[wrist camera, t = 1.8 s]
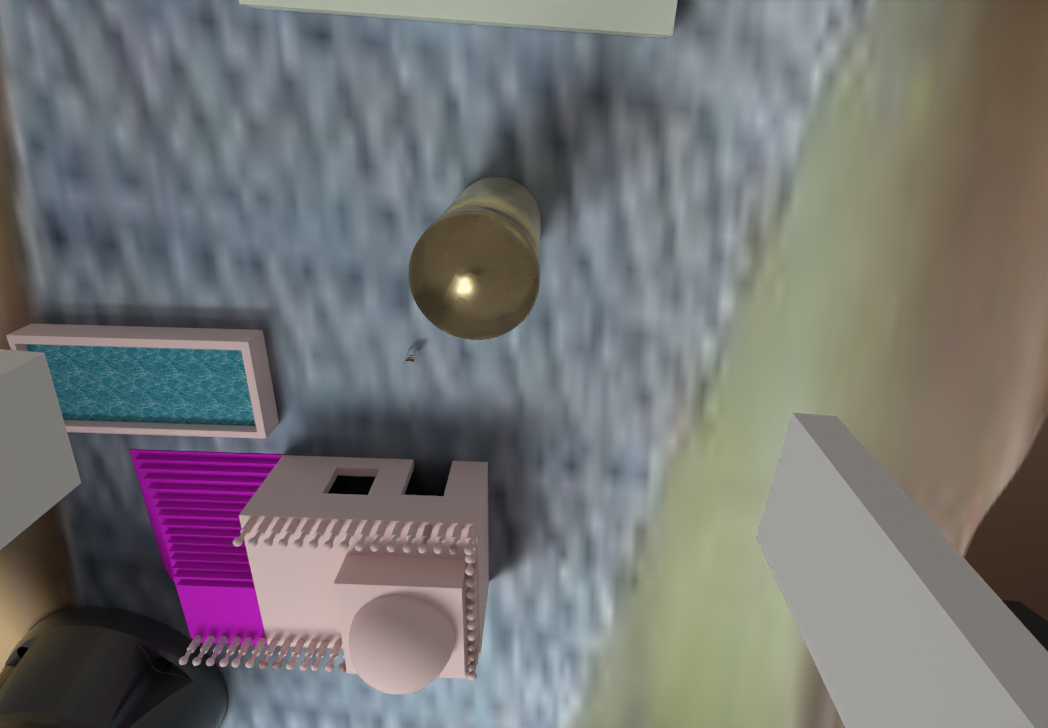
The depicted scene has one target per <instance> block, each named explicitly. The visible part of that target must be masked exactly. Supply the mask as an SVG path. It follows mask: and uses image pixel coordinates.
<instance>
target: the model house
mask: <svg viewBox="0 0 1048 728" xmlns="http://www.w3.org/2000/svg"><path fill="white" fill-rule="evenodd" d="M6 337H7V340H8V343H9V345H10V348H11V350H16V351H29V352H41V353H45V356H46V360H47V363H48V367H49V370H50V374H51V377H52V381H53V384H54V388H55V391H56V395H57V398H58V402H59V406H60V409H61V413H62V416H63V420H64V423H65V427H66V430H67V432H77V433H108V434H138V435H169V436H200V437H230V438H261V439H266V438H267V437H268V436H269V435H270V433H271V432H272V431H273V430H274V429H275V427H276V426H277V425H278V424H279V419H278V413H277V408H276V402H275V396H274V390H273V385H272V379H271V373H270V367H269V362H268V356H267V350H266V345H265V339H264V333H263V330H248V329H212V328H176V327H141V326H105V325H69V324H33V323H32V324H30V325H28V326H25V327H23V328H21V329H19V330H16V331H14V332H12V333H10V334H7V335H6ZM409 351H410V349H409V350H408V353H407V356H406V359H405V361H404V364H405V362H406V361H408V362H413V365H414V363H415V360H416V357H417V354H418V351H419V350H417V353H410V354H413V355H408V354H409ZM414 354H416V355H414ZM129 451H130V454H131V457H132V461H133V464H134V467H135V471H136V474H137V477H138V481H139V484H140V487H141V491H142V494H143V497H144V501H145V504H146V508H147V511H148V514H149V518H150V521H151V524H152V528H153V531H154V534H155V538H156V541H157V544H158V548H159V551H160V554H161V558H162V561H163V564H164V568H165V570H167V573H168V574H169V576H170V578H172V580H173V583H175V585H176V588H177V592H178V595H179V599H180V602H181V605H182V609H183V612H184V616H185V619H186V622H187V626H188V629H189V633H190V636H191V638H192V642H191V643H190V645H189V646H188V648H187V653H186V654H185V656H183V657H181V658H180V659H179V664H180V665H185V664H187V662H188V657H189V656H190V654H191V653H193V652H194V651H195V650H196V648H197V646H198V645H199V643H204V644H203V646H202V647H201V649H200V654H199V655H198V657H195V658H194V659H193V661H192V664H193V665H194V666H198V665H199V664H200V663H201V661H202V659H201V658H202V657H203V655H204V654H206V653H207V652H208V650H209V649H210V647H211V645H212V644H213V643H217V645H216V646H215V648H214V650H213V652H214V653H213V655H212V656H211V657H210V658H208V659H207V660H206V665H207V666H212V665H214V663H215V658H216V656H217V654H220V653H221V651H222V649H223V648H224V646H225V644H230V645H229V647H228V649H227V651H226V652H227V654H226V656H225V658H222V659H221V660H220V662H219V665H220V666H221V667H225V666H227V664H228V659H229V657H230V655H232V654H234V652H235V650H236V648H237V647H238V645H239V644H242V645H241V647H240V649H239V651H238V653H239V654H238V656H237V658H236V659H234V660H233V661H232V663H231V665H232V667H234V668H235V667H238V666H239V665H240V659H241V657H242V656H243V655H245V654H246V652H247V650H248V648H249V646H250V645H255V647H254V649H253V651H252V654H253V655H252V657H251V658H250V659H249V660H247V661H246V664H245V665H246V667H247V668H251V667H253V666H254V660H255V658H256V656H258V655H259V654H260V652H261V650H262V648H263V646H264V645H267V646H268V648H267V650H266V652H265V654H266V656H265V658H264V660H261V661H260V662H259V667H260V668H261V669H264V668H266V667H267V665H268V662H267V661H268V659H269V657H270V656H272V655H273V653H274V651H275V649H276V647H277V646H282V647H281V649H280V651H279V653H278V655H279V657H278V659H277V660H276V661H274V662H273V664H272V666H273V668H274V669H279V668H280V666H281V660H282V658H283V657H285V656H286V654H287V651H288V649H289V647H290V646H291V647H294V650H293V652H292V658H291V660H290V661H288V662H287V664H286V668H287V669H288V670H291V669H293V668H294V666H295V663H294V662H295V659H296V657H299V655H300V652H301V650H302V648H303V647H308V648H307V651H306V653H305V656H306V657H305V660H304V661H303V662H301V664H300V669H301V670H306V669H307V668H308V661H309V658H311V657H312V656H313V653H314V651H315V649H316V648H319V649H318V651H317V654H316V657H317V658H316V661H315V662H313V663H312V664H311V669H312V670H313V671H316V670H318V669H319V662H320V659H321V658H323V656H324V654H325V651H326V649H327V648H333V649H332V651H331V654H330V658H331V659H330V661H329V663H327V664H326V665H325V670H326V671H328V672H329V671H332V669H333V667H334V665H333V662H334V659H336V658H337V657H338V654H339V651H340V649H343V650H344V655H343V658H344V660H343V663H341V664H340V665H339V671H340V672H344V671H346V670H347V674H359V676H360V677H361V678H362V680H363V681H365V682H366V683H367V684H368V685H369V686H371V687H373V688H375V689H377V690H379V691H381V692H384V693H387V694H394V695H395V694H408V693H412V692H416V691H418V690H420V689H422V688H424V687H425V686H427V685H428V684H430V683H431V682H433V681H434V680H435V679H436V678H437V677H438V678H462V679H465V677H467V676H468V675H469V676H468V677H469V679H470V680H471V681H473V680H475V679H476V677H477V674H476V673H475V669H476V667H477V664H478V656H479V654H480V653H481V645H482V636H483V628H484V620H485V611H486V603H487V595H488V586H489V537H488V462H474V461H452V465H451V469H450V473H449V477H448V481H447V485H446V488H445V492H444V496H424V495H405V492H406V489H407V486H408V483H409V481H410V478H411V475H412V472H413V469H414V459H384V458H354V457H324V456H294V455H280V454H250V453H220V452H190V451H161V450H131V449H130V450H129ZM338 475H340V476H369V477H376V478H375V480H374V482H373V484H372V487H371V489H370V491H369V493H368V495H353V494H328V492H329V491H330V489H331V487H332V485H333V483H334V481H335V480H336V478H337V476H338ZM468 664H469V665H468ZM468 668H469V670H470V671H471V672H470V673H469V670H468Z"/></svg>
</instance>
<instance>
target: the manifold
mask: <svg viewBox="0 0 1048 728" xmlns="http://www.w3.org/2000/svg"><path fill="white" fill-rule="evenodd" d="M677 1H678V0H239V4H242V5H245V6H249V7H252V8H255V9H268V10H282V11H296V12H309V13H323V14H337V15H351V16H364V17H378V18H392V19H406V20H419V21H433V22H447V23H460V24H474V25H488V26H502V27H515V28H529V29H543V30H556V31H570V32H584V33H598V34H611V35H625V36H639V37H653V38H668V37H670V36H672V35H673V28H674V21H675V15H676V8H677Z"/></svg>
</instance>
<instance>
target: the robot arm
mask: <svg viewBox="0 0 1048 728" xmlns="http://www.w3.org/2000/svg"><path fill="white" fill-rule="evenodd" d="M79 484H81V479H80V476H79V472H78V469H77V465H76V462H75V458H74V455H73V451H72V448H71V444H70V441H69V437H68V434H67V430H66V427H65V423H64V420H63V416H62V413H61V409H60V406H59V402H58V398H57V395H56V391H55V388H54V384H53V381H52V377H51V374H50V370H49V367H48V363H47V360H46V356H45V353H41V352H29V351H16V350H4V349H1V350H0V550H1V549H2V548H3V547H5V546H6V545H7V544H8V543H9V542H11V541H12V540H13V539H14V538H16V537H17V536H18V535H19V534H20V533H22V532H23V531H24V530H25V529H26V528H28V527H29V526H30V525H31V524H32V523H34V522H35V521H36V520H37V519H38V518H40V517H41V516H42V515H43V514H44V513H46V512H47V511H48V510H49V509H50V508H52V507H53V506H54V505H55V504H56V503H58V502H59V501H60V500H61V499H62V498H64V497H65V496H66V495H67V494H69V493H70V492H71V491H72V490H73V489H75V488H76V487H77V486H78V485H79ZM756 538H757V541H758V543H759V545H760V547H761V549H762V551H763V553H764V556H765V558H766V560H767V562H768V564H769V566H770V568H771V570H772V573H773V575H774V577H775V579H776V581H777V583H778V585H779V587H780V590H781V592H782V594H783V596H784V598H785V600H786V602H787V605H788V607H789V609H790V611H791V613H792V615H793V617H794V619H795V622H796V624H797V626H798V628H799V630H800V632H801V634H802V637H803V639H804V641H805V643H806V645H807V647H808V649H809V651H810V654H811V656H812V658H813V660H814V662H815V664H816V666H817V668H818V671H819V673H820V675H821V677H822V679H823V681H824V683H825V686H826V688H827V690H828V692H829V694H830V696H831V698H832V700H833V703H834V705H835V707H836V709H837V711H838V713H839V715H840V718H841V720H842V722H843V724H844V726H845V728H1048V621H1046V620H1045V619H1043V618H1042V617H1041V616H1039V615H1038V614H1037V613H1035V612H1034V611H1032V610H1031V609H1030V608H1028V607H1027V606H1026V605H1024V604H1023V603H1021V602H1019V601H1008V600H1001V599H1000V598H999V597H998V596H997V595H996V594H995V592H994V591H993V590H992V589H991V588H990V587H989V586H988V585H987V584H986V583H985V581H984V580H983V579H982V578H981V577H980V576H979V575H978V574H977V572H976V571H975V570H974V569H973V568H972V567H971V566H970V565H969V564H968V563H967V561H966V560H965V559H964V558H963V557H962V556H961V555H960V553H959V552H958V551H957V550H956V549H955V548H954V547H953V546H952V545H951V543H950V542H949V541H948V540H947V539H946V538H945V537H944V536H943V534H942V533H941V532H940V531H939V530H938V529H937V528H936V527H935V526H934V524H933V523H932V522H931V521H930V520H929V519H928V518H927V517H926V516H925V514H924V513H923V512H922V511H921V510H920V509H919V508H918V507H917V505H916V504H915V503H914V502H913V501H912V500H911V499H910V498H909V497H908V495H907V494H906V493H905V492H904V491H903V490H902V489H901V488H900V487H899V485H898V484H897V483H896V482H895V481H894V480H893V479H892V478H891V476H890V475H889V474H888V473H887V472H886V471H885V470H884V469H883V468H882V466H881V465H880V464H879V463H878V462H877V461H876V460H875V459H874V458H873V456H872V455H871V454H870V453H869V452H868V451H867V450H866V449H865V447H864V446H863V445H862V444H861V443H860V442H859V441H858V440H857V439H856V437H855V436H854V435H853V434H852V433H851V432H850V431H849V430H848V429H847V427H846V426H845V425H844V424H843V423H842V422H841V421H840V420H839V418H838V417H837V416H825V415H812V414H800V413H793V414H792V417H791V421H790V424H789V427H788V431H787V434H786V438H785V441H784V444H783V448H782V451H781V455H780V458H779V461H778V465H777V468H776V472H775V475H774V479H773V482H772V485H771V489H770V492H769V496H768V499H767V502H766V506H765V509H764V513H763V516H762V519H761V523H760V526H759V530H758V533H757V537H756ZM191 642H192V641H191V640H190V639H189V638H187V637H186V636H184V635H183V634H182V633H180V632H178V631H177V630H175V629H173V628H171V627H169V626H168V625H166V624H163V623H161V622H159V621H157V620H155V619H152V618H149V617H147V616H144V615H141V614H138V613H134V612H130V611H126V610H121V609H115V608H107V607H79V608H72V609H67V610H63V611H59V612H57V613H54V614H52V615H49V616H47V617H46V618H44V619H42V620H41V621H40V622H38V623H37V624H36V625H35V626H34V627H33V628H32V629H31V630H30V631H29V632H28V633H27V634H26V635H25V636H24V637H23V638H22V639H21V640H20V641H19V643H18V644H17V645H16V646H15V648H14V649H13V651H12V652H11V654H10V656H9V658H8V660H7V662H6V664H5V667H4V668H3V670H2V672H1V674H0V728H218V727H219V725H220V723H221V721H222V720H223V717H224V715H225V713H226V710H227V704H228V695H227V689H226V685H225V682H224V679H223V677H222V675H221V673H220V671H219V670H218V668H217V667H216V665H215V664H214V665H212V666H207V665H206V660H207V659H208V658H210V657H209V656H208V655H207V654H204V655H203V657H202V658H201V659H202V661H201V663H200V664H199V665H198V666H194V665H193V664H192V661H193V659H194V658H195V657H198V655H199V654H200V649H201V648H200V647H199V646H197V648H196V650H195V651H194V652H193V653H191V654H190V656H189V657H188V662H187V664H185V665H180V664H179V659H180V658H181V657H183V656H185V654H186V653H187V648H188V646H189V645H190V643H191Z"/></svg>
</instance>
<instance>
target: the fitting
mask: <svg viewBox="0 0 1048 728" xmlns="http://www.w3.org/2000/svg"><path fill="white" fill-rule="evenodd" d="M540 234H541V216H540V211H539V207H538V205H537V202H536V201H535V199H534V197H533V196H532V194H531V193H530V192H529V191H528V190H527V189H526V188H525V187H524V186H523V185H521V184H520V183H518V182H516V181H514V180H512V179H509V178H506V177H499V176H492V177H486V178H482V179H480V180H477V181H475V182H474V183H472V184H470V185H469V186H468V187H467V188H466V189H465V190H464V191H463V192H462V193H461V194H460V195H459V196H458V198H457V199H456V200H455V201H454V202H453V203H452V204H451V205H450V207H449V208H448V209H447V210H446V211H445V212H444V213H443V214H442V216H441V217H440V218H438V219H437V220H436V221H435V222H434V223H433V224H432V225H431V226H430V227H429V228H428V229H427V230H426V231H425V232H424V234H423V235H422V236H421V237H420V239H419V240H418V242H417V243H416V245H415V247H414V249H413V252H412V255H411V259H410V264H409V283H410V288H411V292H412V294H413V297H414V300H415V302H416V304H417V306H418V307H419V309H420V310H421V312H422V313H423V314H424V315H425V316H426V318H427V319H428V320H429V321H431V322H432V323H433V324H434V325H435V326H437V327H438V328H439V329H441V330H443V331H445V332H446V333H448V334H451V335H453V336H456V337H460V338H464V339H471V340H482V339H490V338H494V337H497V336H500V335H503V334H505V333H507V332H509V331H511V330H512V329H513V328H515V327H516V326H518V325H519V324H520V323H521V322H522V321H523V320H524V319H525V318H526V316H527V315H528V314H529V312H530V311H531V309H532V307H533V305H534V303H535V301H536V298H537V294H538V290H539V281H540V263H539V253H540Z"/></svg>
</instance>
